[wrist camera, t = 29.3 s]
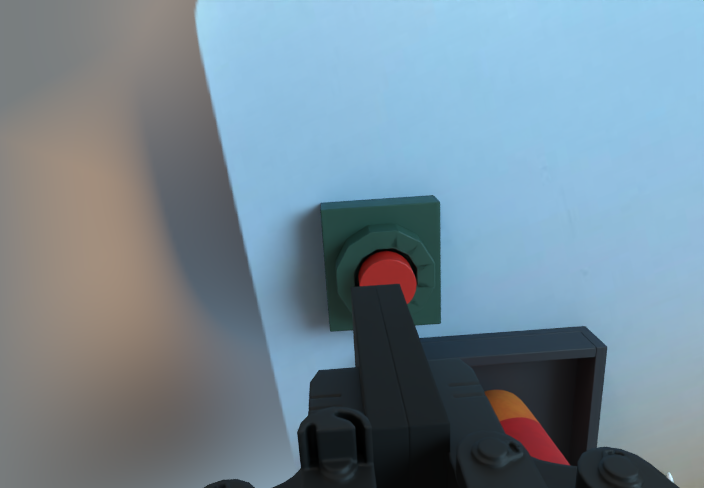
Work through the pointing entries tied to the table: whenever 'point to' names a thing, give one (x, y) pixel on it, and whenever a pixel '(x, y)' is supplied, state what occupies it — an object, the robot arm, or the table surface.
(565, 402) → the tray
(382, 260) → the button
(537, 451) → the paper cup
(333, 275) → the panel
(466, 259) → the table surface
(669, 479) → the picture light
